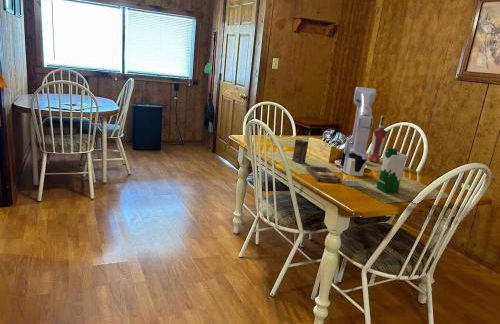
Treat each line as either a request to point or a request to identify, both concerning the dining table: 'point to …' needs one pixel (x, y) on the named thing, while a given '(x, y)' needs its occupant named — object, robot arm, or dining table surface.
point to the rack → (322, 179)
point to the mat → (351, 184)
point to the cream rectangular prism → (353, 168)
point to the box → (300, 151)
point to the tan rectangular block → (326, 174)
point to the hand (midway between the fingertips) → (354, 170)
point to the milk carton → (391, 171)
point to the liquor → (378, 141)
